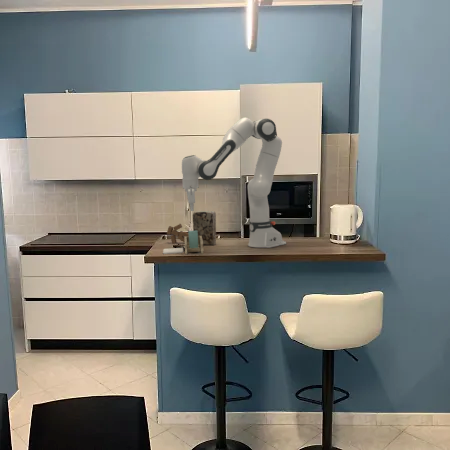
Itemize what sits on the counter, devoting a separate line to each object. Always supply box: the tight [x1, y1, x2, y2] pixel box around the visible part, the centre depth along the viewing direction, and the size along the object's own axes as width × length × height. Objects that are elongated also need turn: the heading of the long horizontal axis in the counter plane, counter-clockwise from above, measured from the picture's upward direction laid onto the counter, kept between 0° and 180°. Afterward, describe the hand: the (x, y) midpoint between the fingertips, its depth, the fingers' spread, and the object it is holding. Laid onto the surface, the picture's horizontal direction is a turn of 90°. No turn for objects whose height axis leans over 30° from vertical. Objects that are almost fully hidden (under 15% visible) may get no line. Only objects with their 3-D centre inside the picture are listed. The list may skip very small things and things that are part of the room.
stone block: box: [192, 210, 217, 246], centre depth 286 cm, size 13×7×20 cm, turn 77°
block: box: [187, 230, 198, 248], centre depth 269 cm, size 5×5×9 cm
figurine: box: [166, 223, 189, 244], centre depth 294 cm, size 13×2×15 cm
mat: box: [162, 247, 184, 255], centre depth 269 cm, size 11×11×1 cm
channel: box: [183, 236, 204, 255], centre depth 268 cm, size 18×10×7 cm, turn 5°
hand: (191, 210), depth 266 cm, fingers open, 8 cm apart
